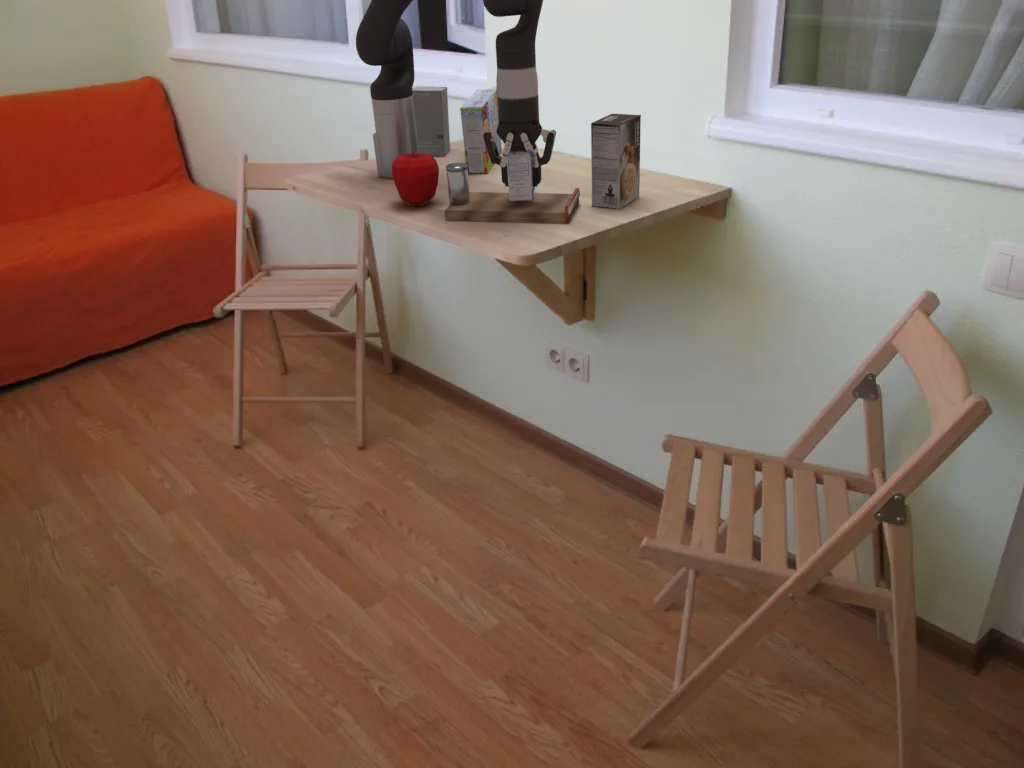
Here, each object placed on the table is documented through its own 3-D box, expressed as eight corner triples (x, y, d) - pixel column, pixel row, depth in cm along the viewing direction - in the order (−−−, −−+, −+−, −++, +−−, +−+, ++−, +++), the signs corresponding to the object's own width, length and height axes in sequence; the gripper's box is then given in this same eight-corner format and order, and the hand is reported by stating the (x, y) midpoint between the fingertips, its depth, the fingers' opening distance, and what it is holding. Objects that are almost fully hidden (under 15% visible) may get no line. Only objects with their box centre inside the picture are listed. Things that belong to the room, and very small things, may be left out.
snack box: (480, 151, 204) (475, 88, 197) (502, 151, 203) (498, 88, 196) (464, 175, 186) (459, 106, 178) (489, 174, 185) (484, 105, 178)
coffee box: (611, 193, 167) (611, 112, 159) (640, 197, 164) (642, 114, 156) (590, 206, 160) (590, 122, 152) (620, 210, 157) (621, 124, 149)
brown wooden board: (445, 220, 157) (444, 203, 156) (463, 201, 167) (462, 186, 166) (569, 223, 152) (569, 206, 150) (580, 203, 162) (579, 187, 160)
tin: (446, 205, 159) (442, 168, 155) (452, 198, 163) (449, 162, 159) (467, 205, 158) (464, 168, 154) (473, 199, 162) (470, 162, 158)
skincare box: (413, 157, 203) (406, 90, 195) (420, 150, 209) (413, 85, 201) (446, 156, 201) (440, 89, 193) (453, 149, 207) (447, 84, 200)
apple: (429, 212, 162) (423, 157, 157) (386, 209, 165) (379, 155, 160) (449, 197, 170) (445, 145, 165) (408, 195, 173) (402, 143, 168)
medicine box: (532, 201, 154) (530, 155, 150) (508, 201, 154) (506, 155, 150) (535, 189, 161) (533, 144, 157) (512, 189, 161) (510, 145, 157)
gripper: (560, 88, 150) (562, 180, 158) (485, 89, 153) (490, 179, 162) (552, 96, 144) (554, 192, 152) (474, 97, 147) (480, 190, 155)
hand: (521, 185), depth 157 cm, fingers closed on medicine box, 4 cm apart
